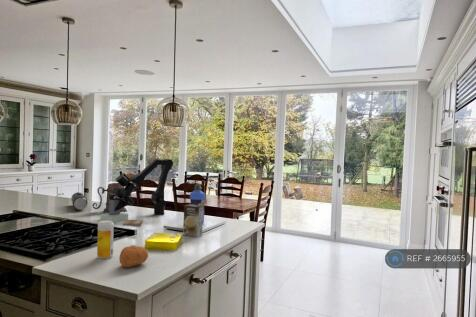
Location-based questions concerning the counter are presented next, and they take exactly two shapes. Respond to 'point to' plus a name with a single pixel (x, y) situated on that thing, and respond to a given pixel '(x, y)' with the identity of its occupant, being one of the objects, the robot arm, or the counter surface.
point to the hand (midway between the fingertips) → (112, 210)
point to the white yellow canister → (105, 239)
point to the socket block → (114, 217)
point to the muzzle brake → (79, 201)
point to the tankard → (109, 191)
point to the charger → (113, 207)
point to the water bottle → (197, 197)
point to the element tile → (163, 241)
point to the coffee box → (193, 220)
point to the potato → (133, 256)
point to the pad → (133, 222)
